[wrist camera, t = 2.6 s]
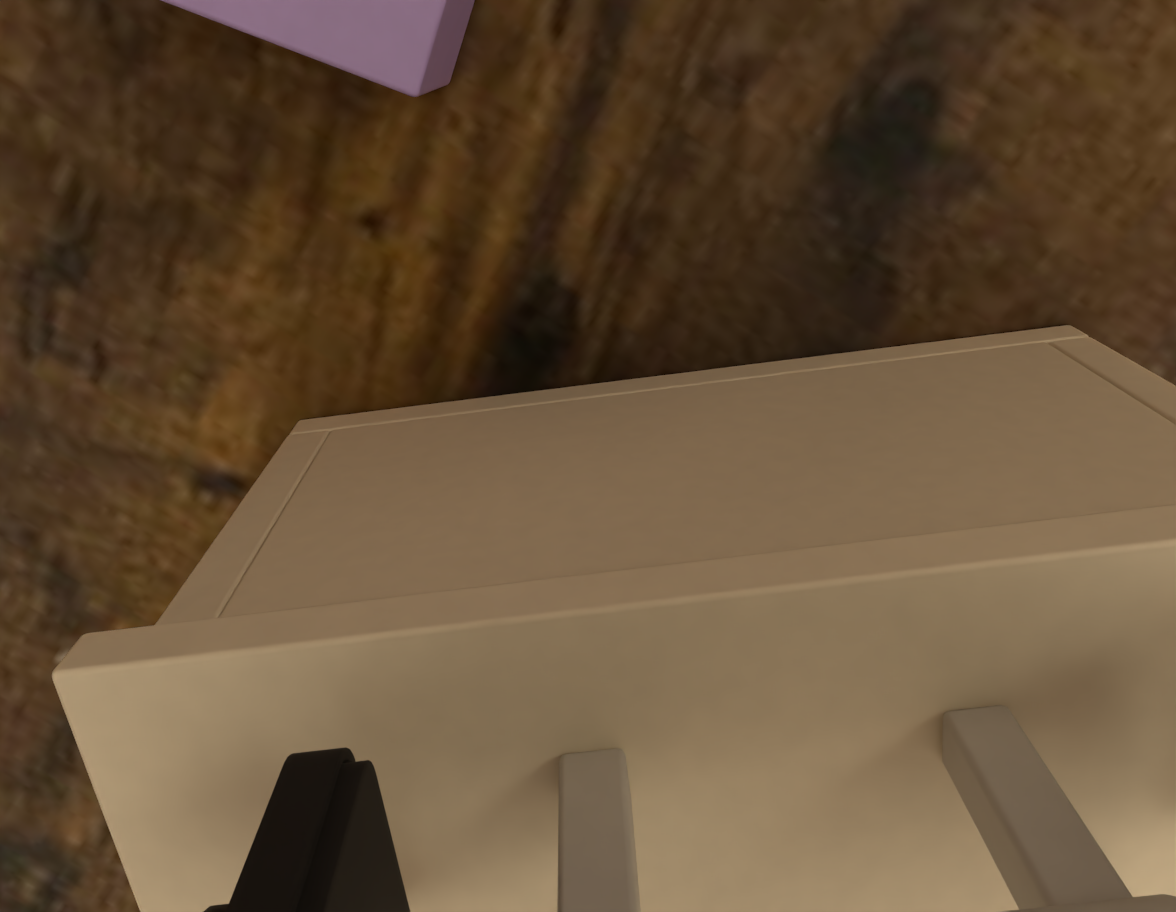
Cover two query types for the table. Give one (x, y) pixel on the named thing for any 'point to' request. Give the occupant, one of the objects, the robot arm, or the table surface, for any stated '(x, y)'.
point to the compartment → (692, 470)
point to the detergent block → (357, 34)
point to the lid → (688, 730)
